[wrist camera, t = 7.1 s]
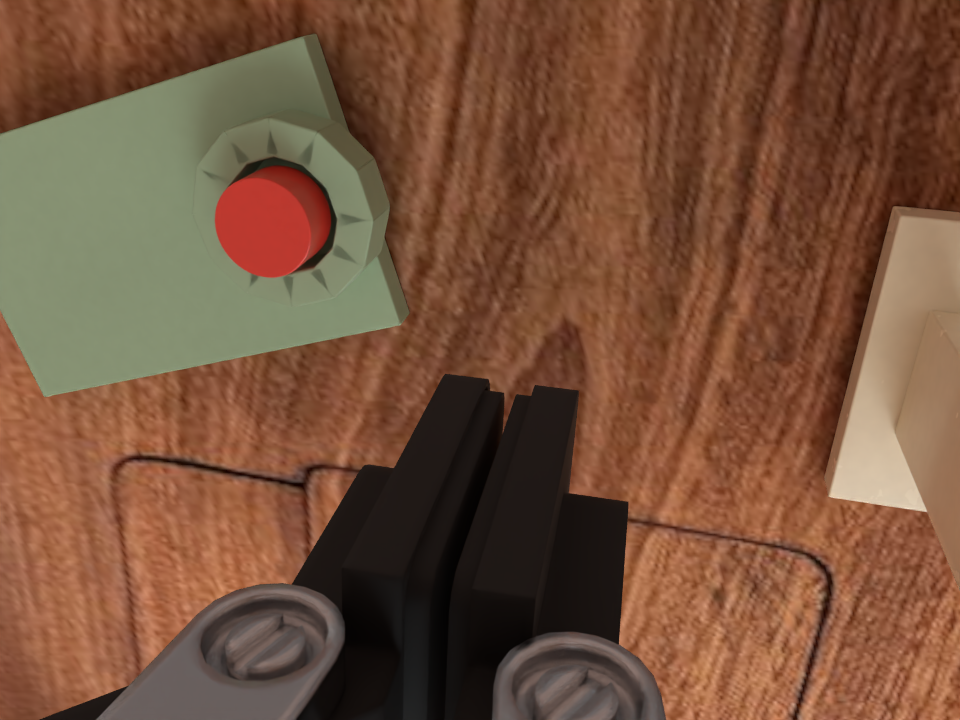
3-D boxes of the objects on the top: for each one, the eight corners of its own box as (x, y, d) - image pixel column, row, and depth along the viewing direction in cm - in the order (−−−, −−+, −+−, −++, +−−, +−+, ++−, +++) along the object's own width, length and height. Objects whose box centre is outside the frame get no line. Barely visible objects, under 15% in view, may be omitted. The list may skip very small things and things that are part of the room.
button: (311, 154, 28) (289, 166, 26) (345, 249, 29) (325, 266, 28) (224, 178, 29) (198, 191, 27) (260, 269, 30) (237, 287, 29)
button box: (345, 23, 29) (310, 31, 26) (437, 307, 32) (413, 340, 30) (-54, 152, 34) (-118, 169, 31) (62, 385, 37) (14, 418, 35)
